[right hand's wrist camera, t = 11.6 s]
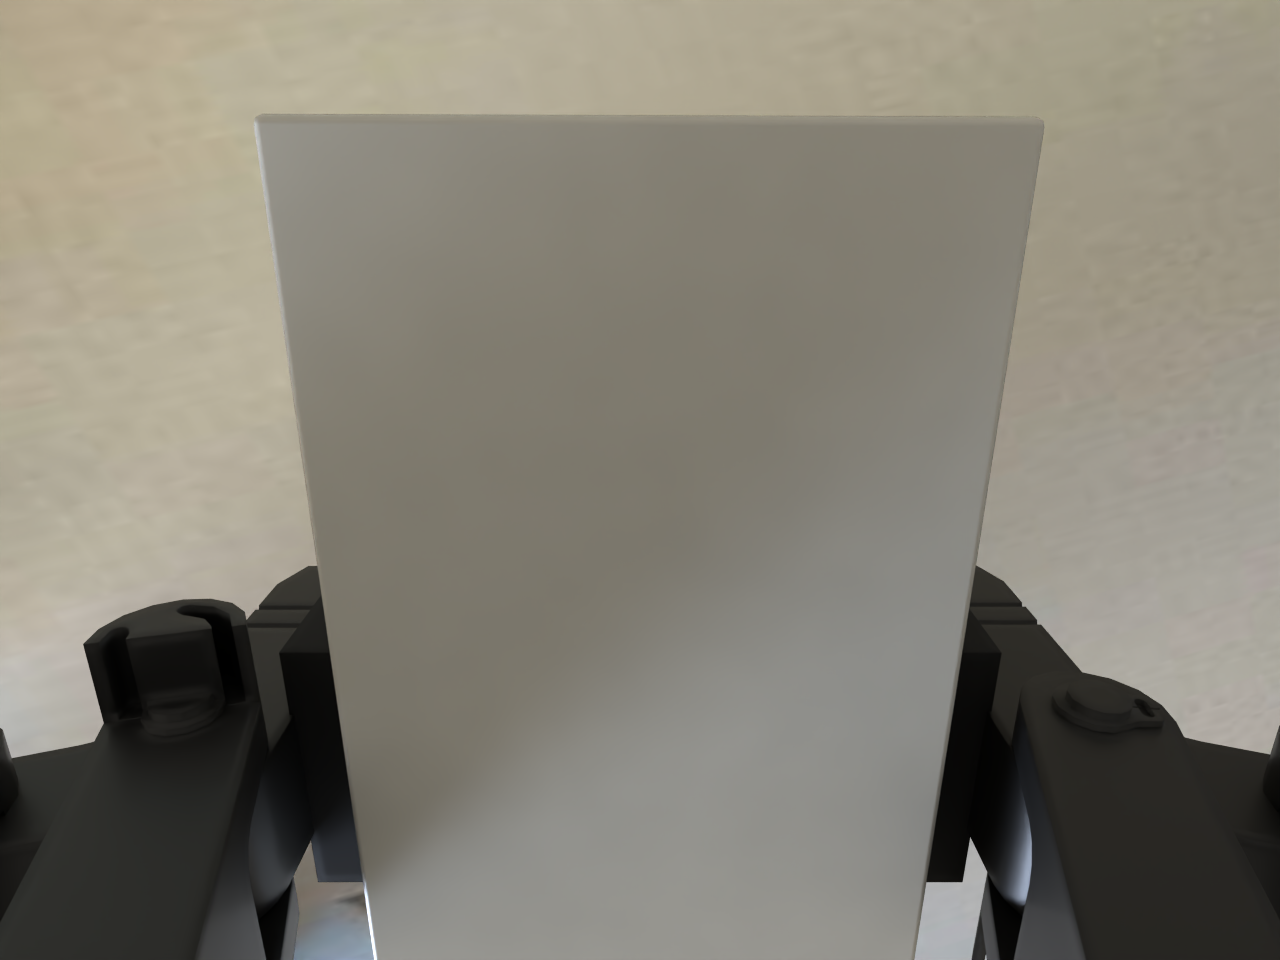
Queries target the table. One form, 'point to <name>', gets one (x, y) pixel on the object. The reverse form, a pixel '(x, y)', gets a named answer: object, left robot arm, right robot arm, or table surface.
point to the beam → (646, 510)
